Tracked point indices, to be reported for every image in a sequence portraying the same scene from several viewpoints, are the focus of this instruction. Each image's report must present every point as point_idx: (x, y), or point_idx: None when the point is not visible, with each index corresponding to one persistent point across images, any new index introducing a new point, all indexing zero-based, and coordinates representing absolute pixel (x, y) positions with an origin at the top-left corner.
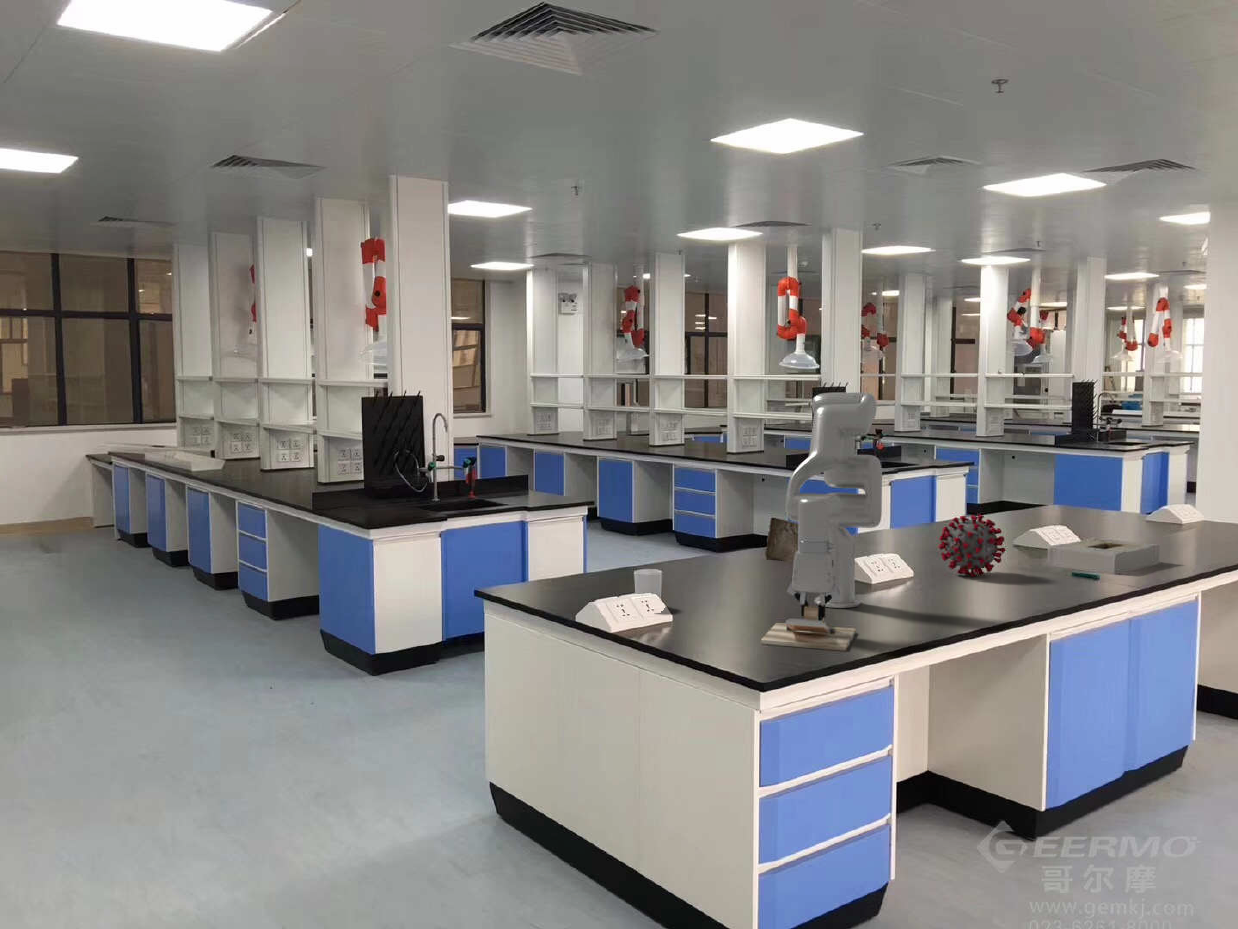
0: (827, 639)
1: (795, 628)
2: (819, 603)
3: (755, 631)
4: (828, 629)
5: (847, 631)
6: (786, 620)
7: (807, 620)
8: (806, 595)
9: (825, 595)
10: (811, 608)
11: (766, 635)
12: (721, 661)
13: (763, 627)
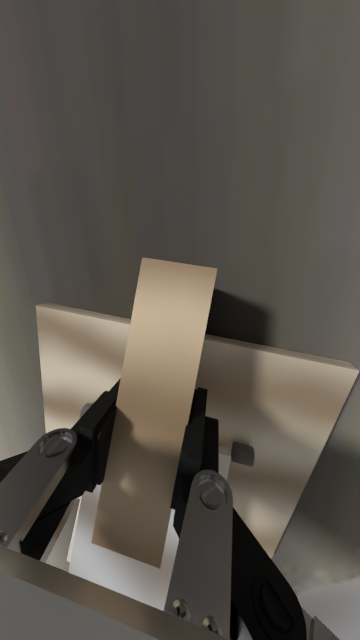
0: None
1: None
2: (173, 522)
3: (11, 367)
4: (227, 470)
5: (308, 414)
6: (68, 560)
7: (139, 596)
8: (40, 506)
9: (221, 592)
10: (134, 546)
11: None
12: None
13: (16, 317)
